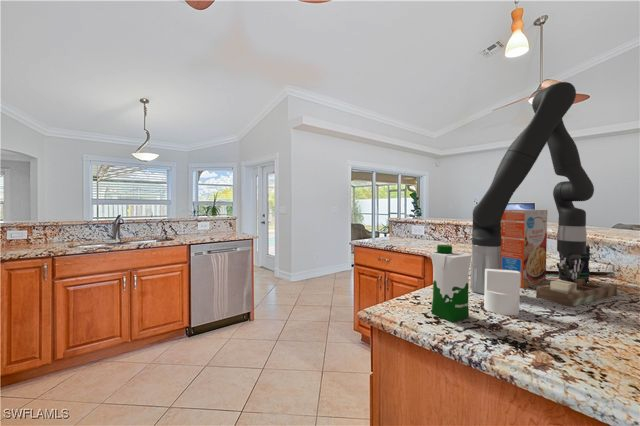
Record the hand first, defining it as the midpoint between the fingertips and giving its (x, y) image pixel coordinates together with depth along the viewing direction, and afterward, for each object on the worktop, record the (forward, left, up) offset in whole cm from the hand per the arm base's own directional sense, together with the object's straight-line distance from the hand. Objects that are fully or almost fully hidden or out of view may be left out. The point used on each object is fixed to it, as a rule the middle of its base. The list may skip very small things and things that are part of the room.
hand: (570, 289), depth 97 cm
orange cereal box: (-8, +19, -3) cm, 21 cm away
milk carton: (-40, -32, -3) cm, 51 cm away
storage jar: (+12, +29, -3) cm, 32 cm away
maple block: (-3, -4, -1) cm, 5 cm away
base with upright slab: (-25, -21, -3) cm, 33 cm away
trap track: (+3, +3, -3) cm, 6 cm away
